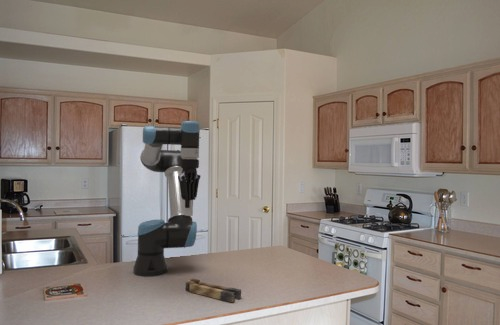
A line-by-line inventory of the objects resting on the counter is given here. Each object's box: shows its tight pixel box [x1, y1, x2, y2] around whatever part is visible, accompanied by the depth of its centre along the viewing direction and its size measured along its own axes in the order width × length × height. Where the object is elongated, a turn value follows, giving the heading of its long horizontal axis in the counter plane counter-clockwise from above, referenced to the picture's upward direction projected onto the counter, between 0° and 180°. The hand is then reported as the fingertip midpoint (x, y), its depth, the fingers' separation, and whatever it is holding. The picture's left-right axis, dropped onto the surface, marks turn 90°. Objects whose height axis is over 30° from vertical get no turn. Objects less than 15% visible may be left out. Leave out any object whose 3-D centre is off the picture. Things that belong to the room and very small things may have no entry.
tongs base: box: [185, 278, 242, 300], centre depth 154 cm, size 23×4×4 cm, turn 63°
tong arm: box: [185, 279, 236, 303], centre depth 151 cm, size 22×2×4 cm, turn 58°
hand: (188, 215), depth 165 cm, fingers closed
